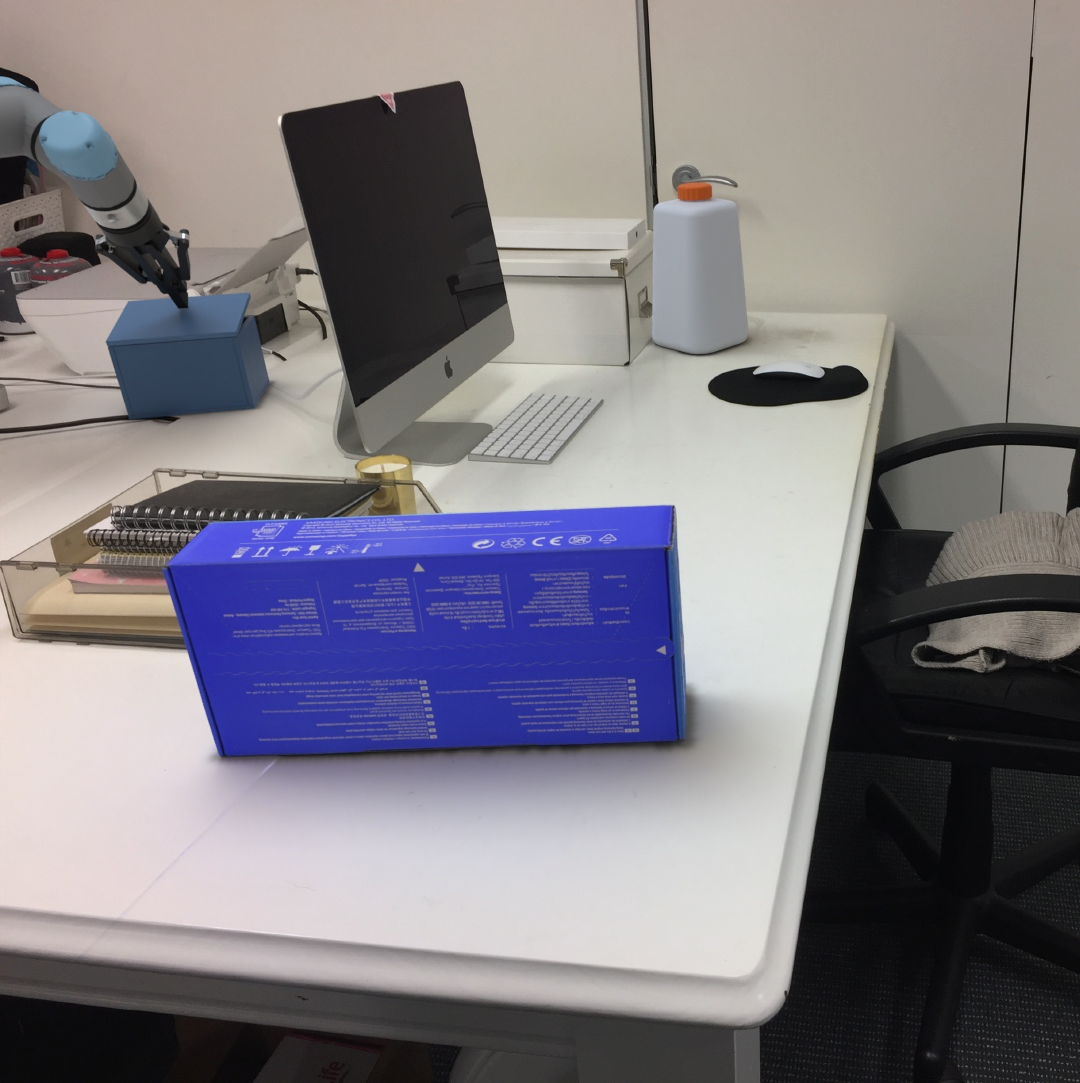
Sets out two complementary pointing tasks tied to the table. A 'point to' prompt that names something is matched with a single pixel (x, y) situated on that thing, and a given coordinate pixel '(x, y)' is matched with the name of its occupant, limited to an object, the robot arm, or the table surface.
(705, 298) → the plastic bottle
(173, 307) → the case lid
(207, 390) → the case
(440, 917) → the table surface
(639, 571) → the blue cardboard box
